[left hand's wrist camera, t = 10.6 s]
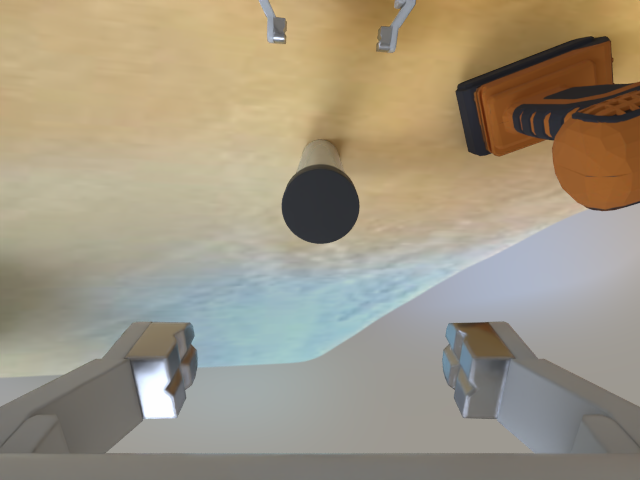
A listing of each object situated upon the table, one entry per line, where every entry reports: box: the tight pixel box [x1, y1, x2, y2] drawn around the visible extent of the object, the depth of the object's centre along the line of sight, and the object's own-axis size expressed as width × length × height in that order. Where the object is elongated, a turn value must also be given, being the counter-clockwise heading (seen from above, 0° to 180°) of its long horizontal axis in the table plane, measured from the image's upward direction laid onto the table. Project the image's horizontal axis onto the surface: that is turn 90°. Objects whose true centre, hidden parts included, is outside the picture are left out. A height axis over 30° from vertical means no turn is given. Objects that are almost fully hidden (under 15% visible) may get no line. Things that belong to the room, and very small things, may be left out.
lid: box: [282, 164, 359, 244], centre depth 24 cm, size 5×5×2 cm
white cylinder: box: [296, 140, 345, 173], centre depth 32 cm, size 4×4×19 cm
